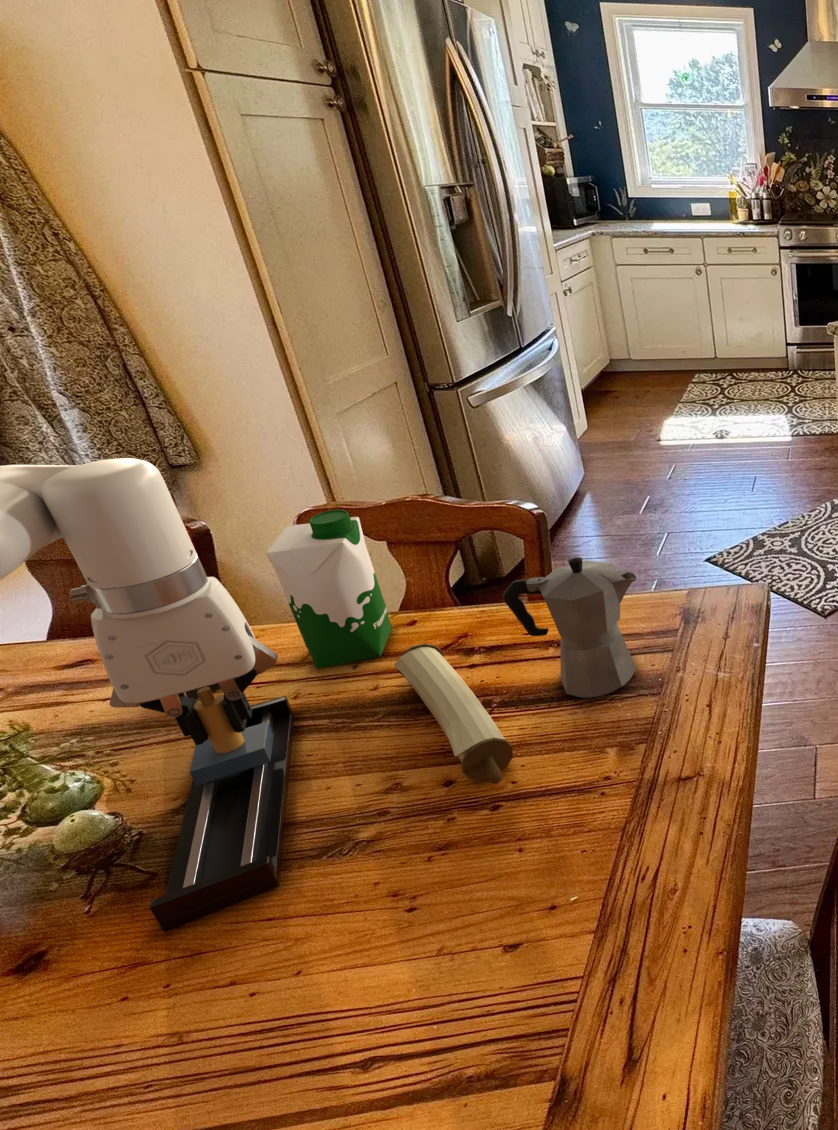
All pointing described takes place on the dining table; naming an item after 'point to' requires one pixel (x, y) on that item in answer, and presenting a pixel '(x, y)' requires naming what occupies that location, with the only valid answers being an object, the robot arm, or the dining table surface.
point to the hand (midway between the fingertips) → (222, 729)
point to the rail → (232, 831)
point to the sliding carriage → (226, 742)
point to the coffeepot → (582, 623)
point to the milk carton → (332, 588)
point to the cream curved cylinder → (457, 712)
